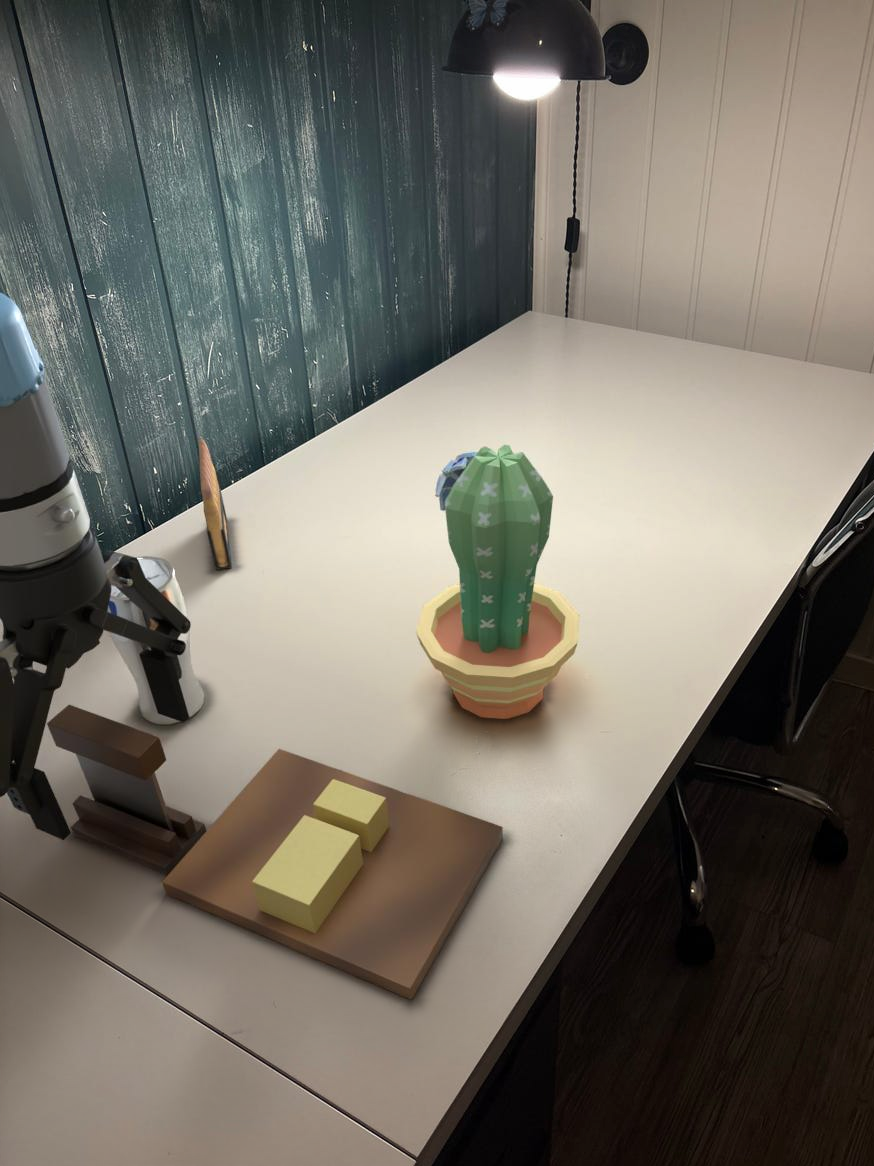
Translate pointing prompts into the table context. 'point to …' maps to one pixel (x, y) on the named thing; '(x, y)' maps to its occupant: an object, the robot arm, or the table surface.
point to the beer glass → (129, 650)
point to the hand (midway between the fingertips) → (117, 769)
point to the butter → (308, 873)
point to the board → (377, 892)
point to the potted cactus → (497, 588)
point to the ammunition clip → (214, 511)
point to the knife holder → (137, 834)
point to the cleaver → (115, 762)
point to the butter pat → (353, 812)
